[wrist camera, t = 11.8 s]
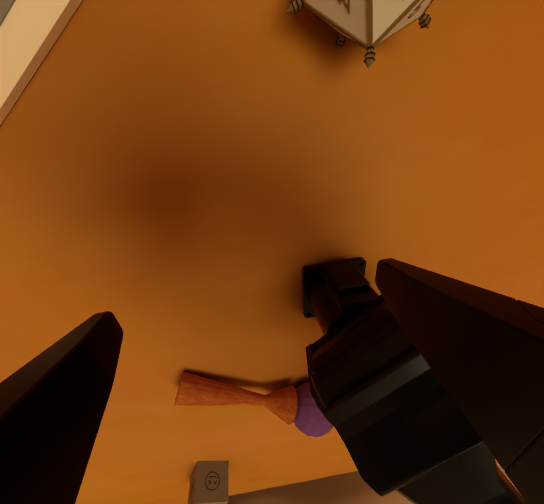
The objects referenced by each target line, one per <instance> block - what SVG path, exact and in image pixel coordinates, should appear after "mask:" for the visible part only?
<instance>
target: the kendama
mask: <svg viewBox="0 0 544 504" xmlns="http://www.w3.org/2000/svg"><path fill="white" fill-rule="evenodd" d="M174 405H233V406H265V407H266V408H267V409H269V410H270V411H271V412H273V413H274V414H275V415H277V416H278V417H279V418H280V419H282V420H283V421H284V422H286V423H287V424H288V425H290V424H292V423H293V421H294V423H295V425H296V427H297V428H298V429H299V430H300V431H302V432H303V433H305V434H306V435H307V436H314V437H319V436H323V435H325V434H327V433H328V432H329V431H330V430H331V429H332V427H333V425H332V424H331V423H330V422H329V421H328V420H327V419H326V418H325V416H324V415H323V414H322V412H321V411H320V409H319V408H318V407H317V406H316V404H315V400H314V398H313V397H312V395H311V392H310V384H309V382H306V383H303V384H301V385H299V386H298V387H297V388H296V389H295V388H294V386H292V385H291V386H288V387H286V388H283V389H280V390H278V391H275V392H272V393H270V394H267V395H262V394H259V393H255V392H252V391H248V390H245V389H242V388H238V387H235V386H231V385H228V384H225V383H221V382H218V381H214V380H211V379H208V378H204V377H201V376H197V375H194V374H191V373H187V372H184V373H183V376H182V379H181V382H180V385H179V389H178V392H177V396H176V400H175V404H174Z"/></svg>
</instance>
